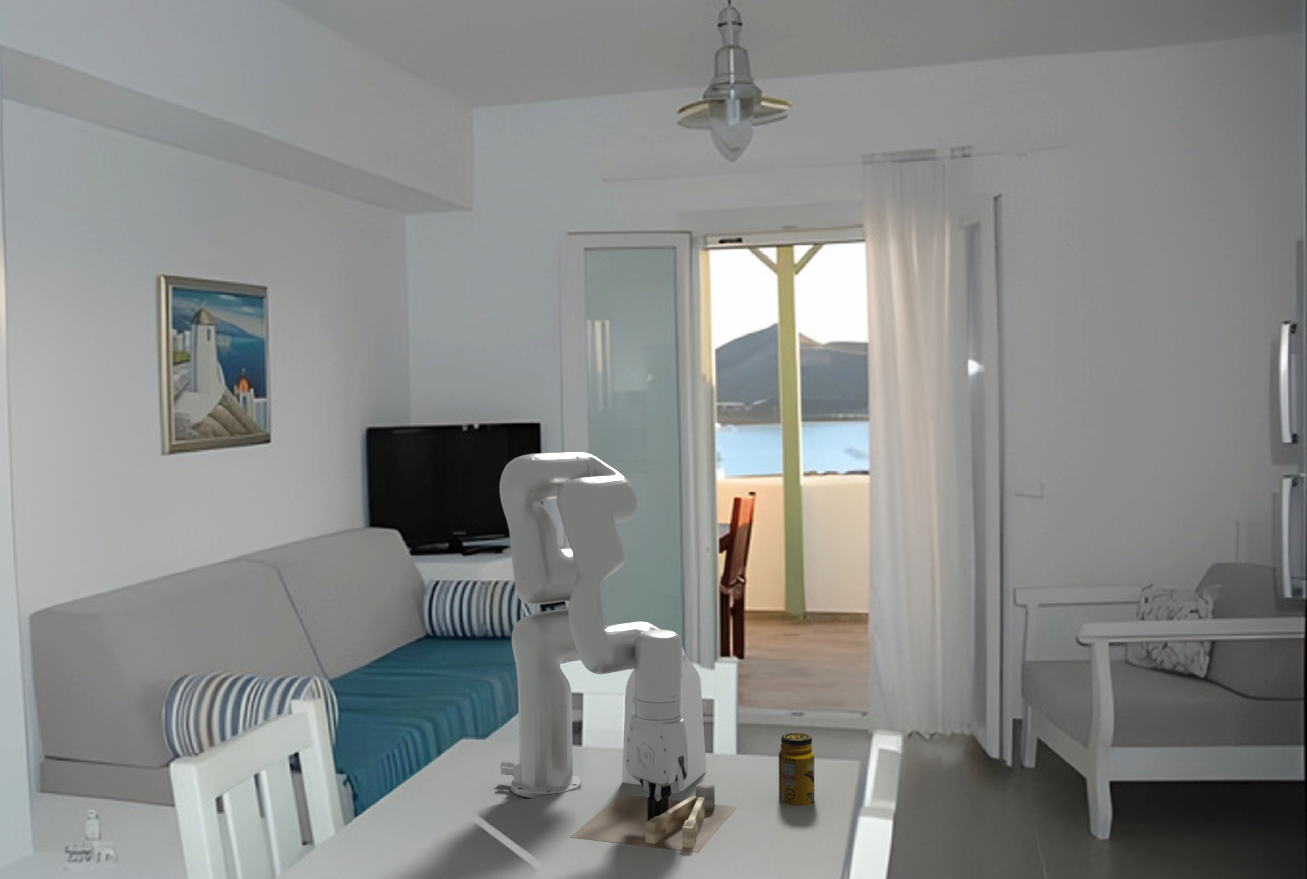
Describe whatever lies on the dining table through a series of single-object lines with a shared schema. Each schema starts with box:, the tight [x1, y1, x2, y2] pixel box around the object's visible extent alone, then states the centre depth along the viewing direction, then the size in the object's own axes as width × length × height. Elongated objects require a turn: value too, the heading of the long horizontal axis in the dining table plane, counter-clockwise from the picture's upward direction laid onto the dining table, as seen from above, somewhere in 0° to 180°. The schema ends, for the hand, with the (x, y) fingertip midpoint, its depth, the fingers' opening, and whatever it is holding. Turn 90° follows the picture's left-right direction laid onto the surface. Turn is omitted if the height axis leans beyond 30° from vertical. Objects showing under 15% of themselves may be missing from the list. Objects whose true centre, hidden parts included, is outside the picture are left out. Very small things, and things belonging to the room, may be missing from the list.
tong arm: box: [645, 795, 697, 844], centre depth 198 cm, size 15×2×3 cm, turn 151°
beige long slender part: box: [682, 782, 716, 848], centre depth 199 cm, size 20×3×4 cm, turn 169°
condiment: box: [778, 732, 815, 807], centre depth 211 cm, size 7×8×12 cm
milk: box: [621, 646, 707, 790], centre depth 224 cm, size 12×12×26 cm
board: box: [569, 794, 738, 854], centre depth 201 cm, size 21×22×1 cm
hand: (657, 821), depth 199 cm, fingers closed
